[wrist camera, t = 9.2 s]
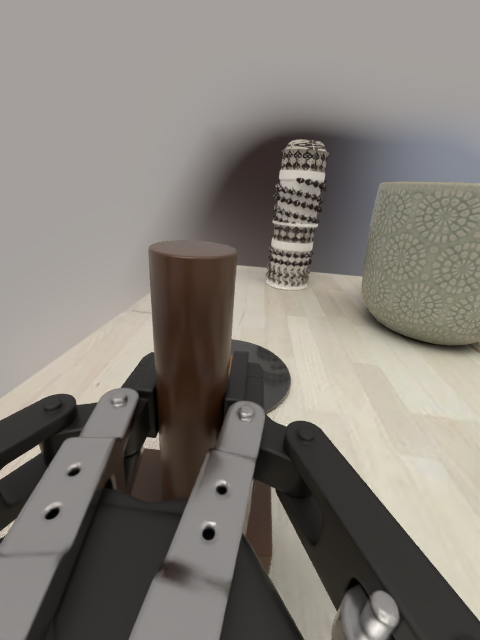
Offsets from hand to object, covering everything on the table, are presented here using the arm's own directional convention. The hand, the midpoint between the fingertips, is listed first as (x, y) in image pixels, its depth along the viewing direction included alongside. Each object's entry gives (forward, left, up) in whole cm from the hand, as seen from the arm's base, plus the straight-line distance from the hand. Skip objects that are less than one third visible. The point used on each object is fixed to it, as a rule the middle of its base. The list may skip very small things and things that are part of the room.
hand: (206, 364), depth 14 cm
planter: (+33, +23, -9) cm, 41 cm away
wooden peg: (-1, -3, -8) cm, 9 cm away
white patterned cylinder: (+18, +43, -9) cm, 48 cm away
